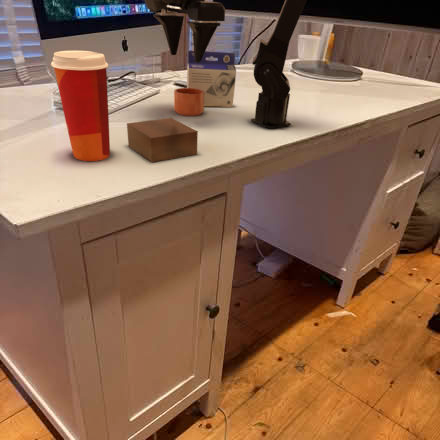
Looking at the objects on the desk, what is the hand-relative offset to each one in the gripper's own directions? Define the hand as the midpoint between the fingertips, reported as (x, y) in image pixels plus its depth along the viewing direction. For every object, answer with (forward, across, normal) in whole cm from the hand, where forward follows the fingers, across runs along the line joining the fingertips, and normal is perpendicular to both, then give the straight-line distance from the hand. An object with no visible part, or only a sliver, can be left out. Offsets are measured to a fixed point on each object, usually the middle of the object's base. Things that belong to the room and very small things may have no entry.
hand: (185, 58), depth 86 cm
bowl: (+11, -2, +3) cm, 12 cm away
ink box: (+12, -5, +11) cm, 17 cm away
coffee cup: (+12, +14, -28) cm, 33 cm away
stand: (+11, +17, -16) cm, 26 cm away
